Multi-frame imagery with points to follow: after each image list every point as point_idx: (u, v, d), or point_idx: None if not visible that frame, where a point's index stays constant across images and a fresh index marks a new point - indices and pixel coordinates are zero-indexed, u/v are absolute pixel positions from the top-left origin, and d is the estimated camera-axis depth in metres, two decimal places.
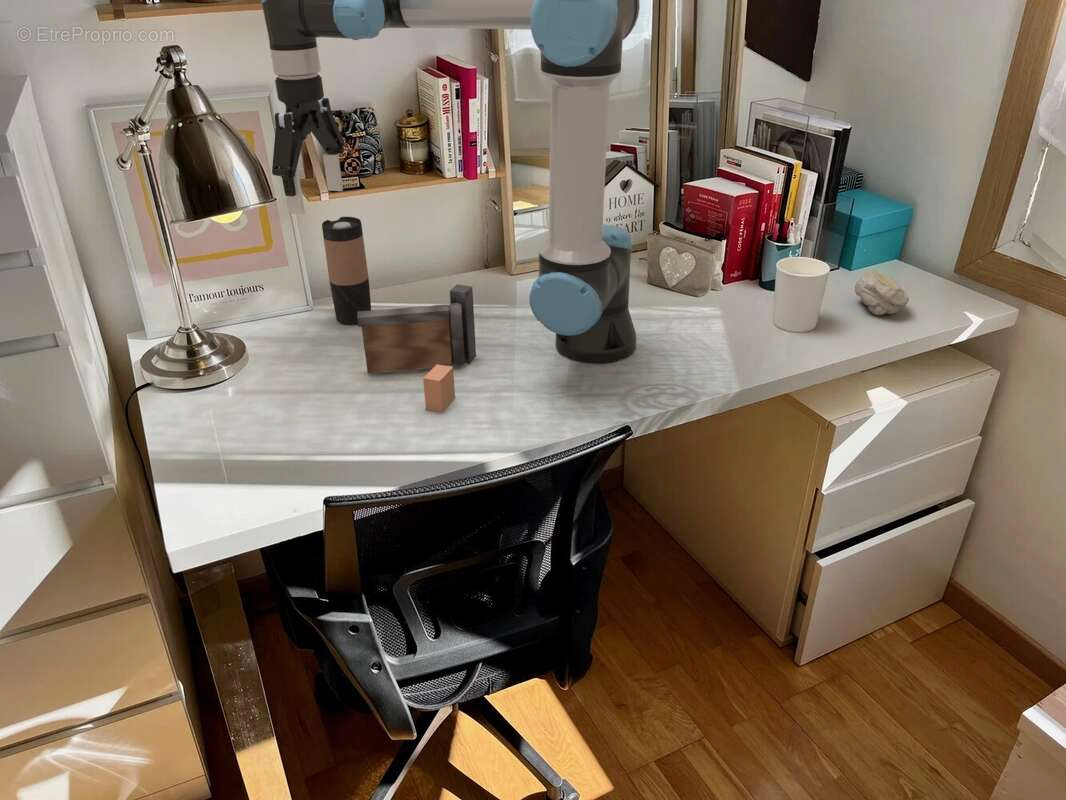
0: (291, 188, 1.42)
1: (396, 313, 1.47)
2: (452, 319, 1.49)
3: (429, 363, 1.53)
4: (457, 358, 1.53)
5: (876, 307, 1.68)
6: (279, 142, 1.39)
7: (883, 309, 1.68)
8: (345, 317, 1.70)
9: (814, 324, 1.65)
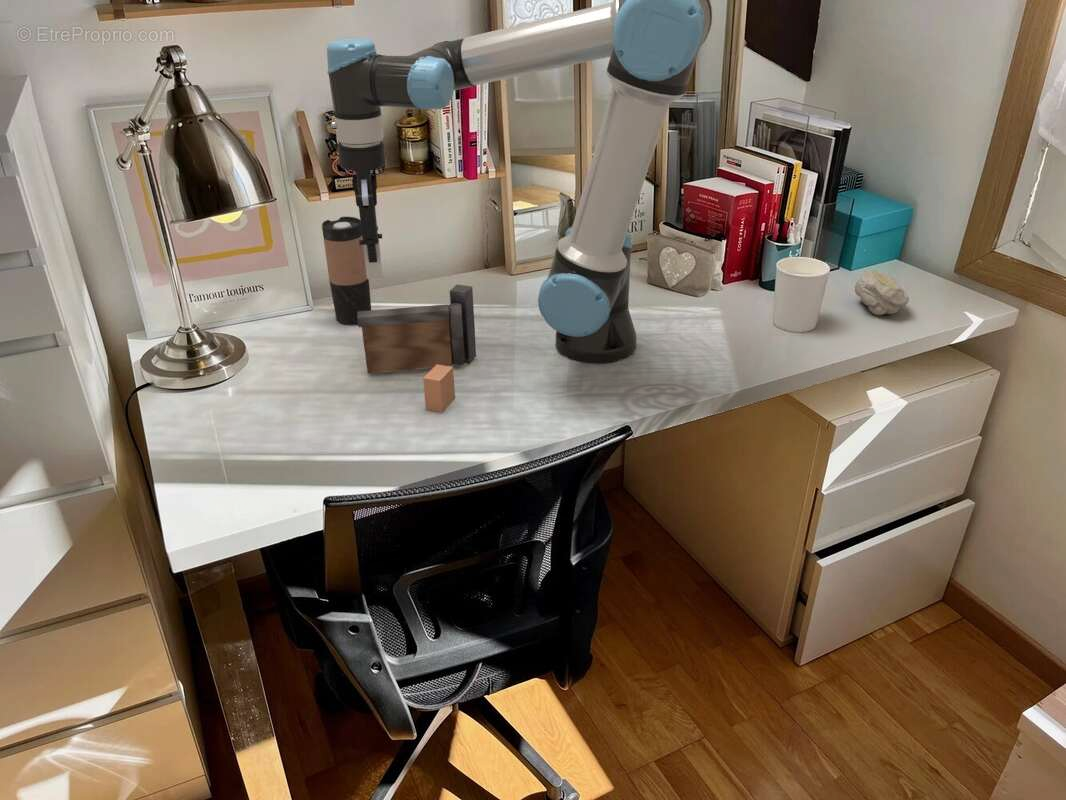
0: (376, 254, 1.48)
1: (396, 313, 1.47)
2: (452, 319, 1.49)
3: (429, 363, 1.53)
4: (457, 358, 1.53)
5: (876, 307, 1.68)
6: (366, 219, 1.41)
7: (883, 309, 1.68)
8: (345, 317, 1.70)
9: (814, 324, 1.65)
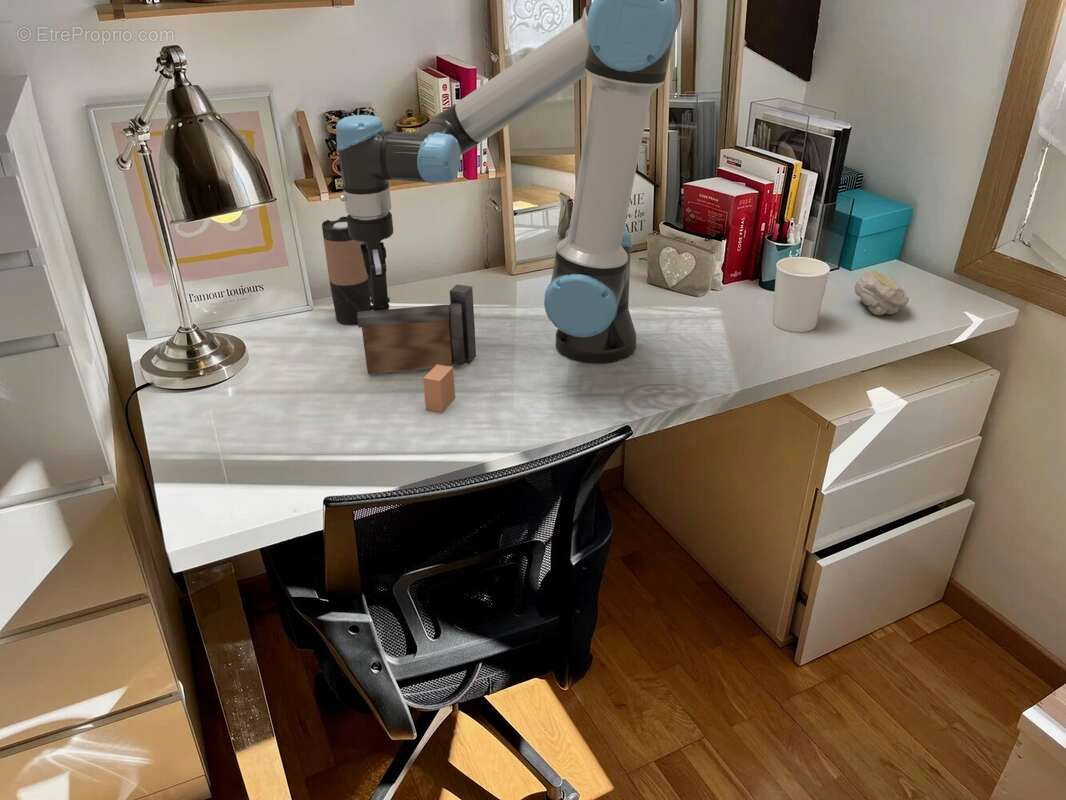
0: None
1: (396, 313, 1.47)
2: (452, 319, 1.49)
3: (429, 363, 1.53)
4: (457, 358, 1.53)
5: (876, 307, 1.68)
6: (378, 287, 1.45)
7: (883, 309, 1.68)
8: (345, 317, 1.70)
9: (814, 324, 1.65)
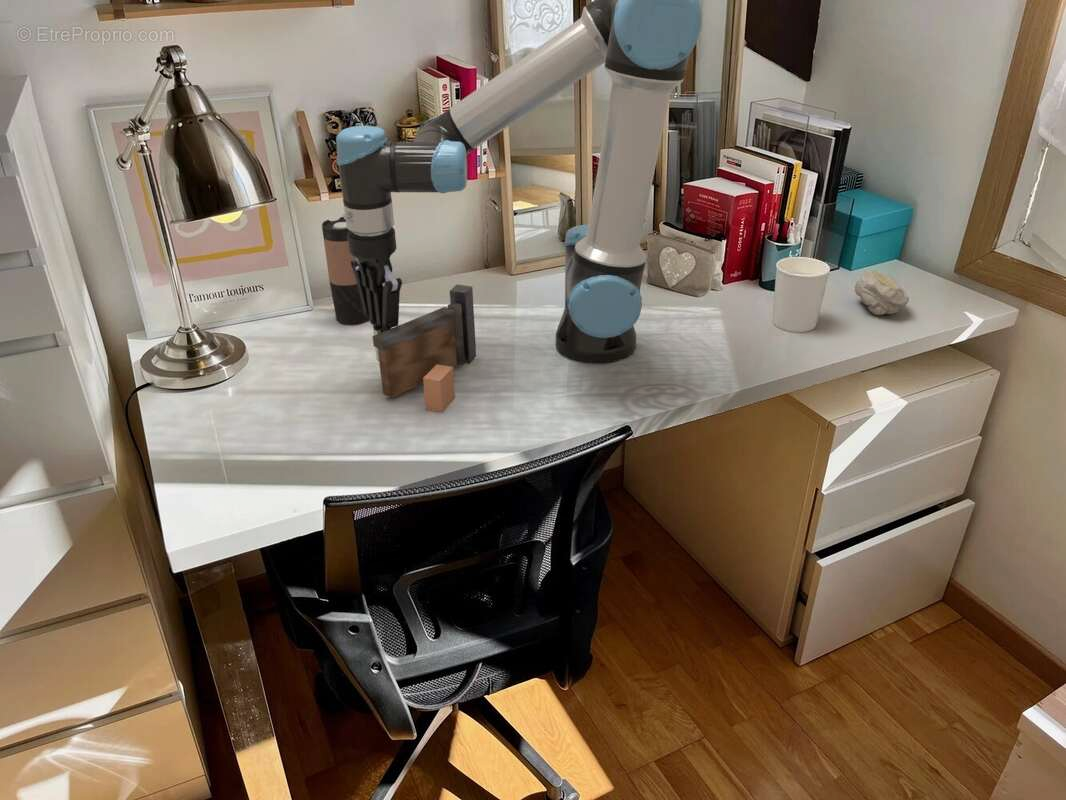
0: None
1: (412, 326, 1.42)
2: (457, 319, 1.49)
3: None
4: (461, 357, 1.53)
5: (876, 307, 1.68)
6: (391, 304, 1.39)
7: (883, 309, 1.68)
8: (345, 317, 1.70)
9: (814, 324, 1.65)
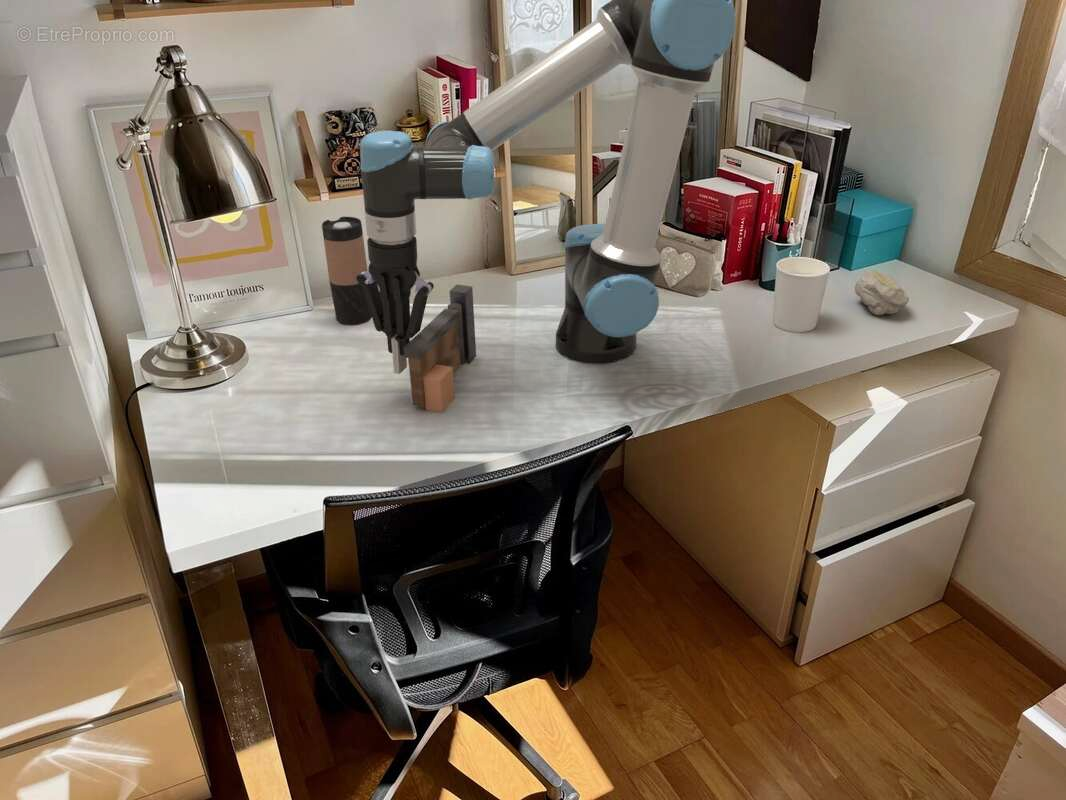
0: None
1: (433, 331, 1.41)
2: (459, 318, 1.49)
3: None
4: (463, 356, 1.53)
5: (876, 307, 1.68)
6: (421, 310, 1.36)
7: (883, 309, 1.68)
8: (345, 317, 1.70)
9: (814, 324, 1.65)
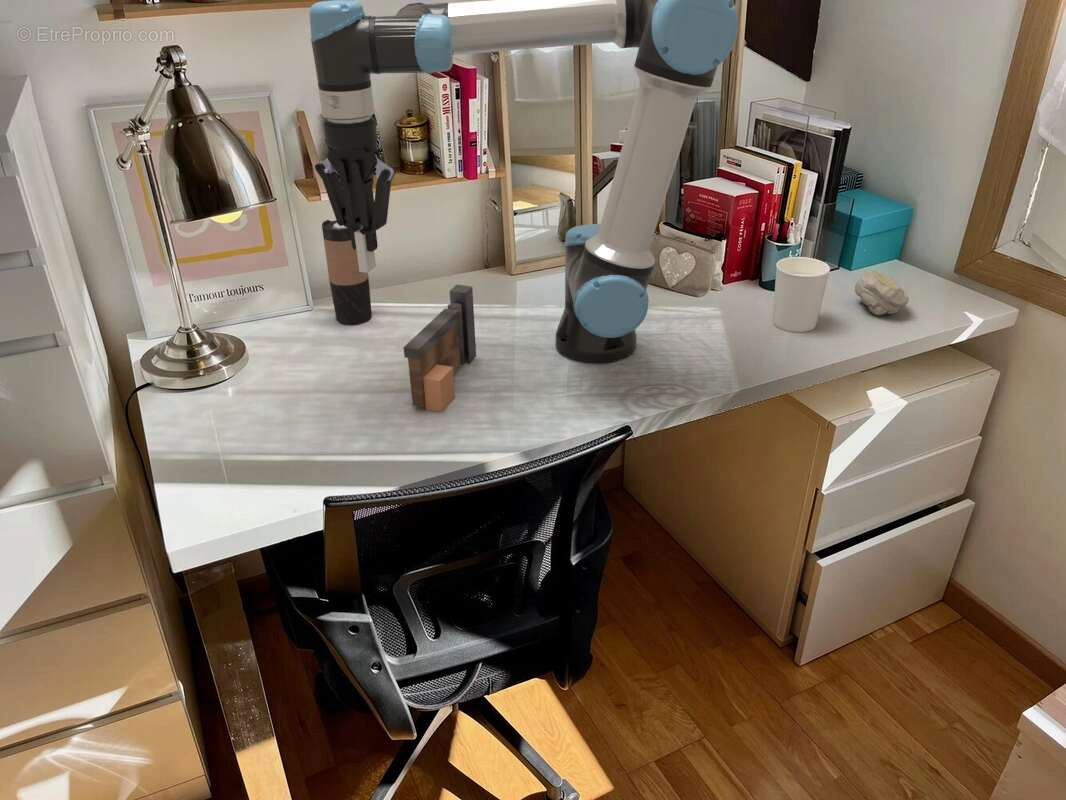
0: (376, 240, 1.34)
1: (433, 331, 1.41)
2: (459, 318, 1.49)
3: None
4: (463, 356, 1.53)
5: (876, 307, 1.68)
6: (384, 197, 1.29)
7: (883, 309, 1.68)
8: (345, 317, 1.70)
9: (814, 324, 1.65)
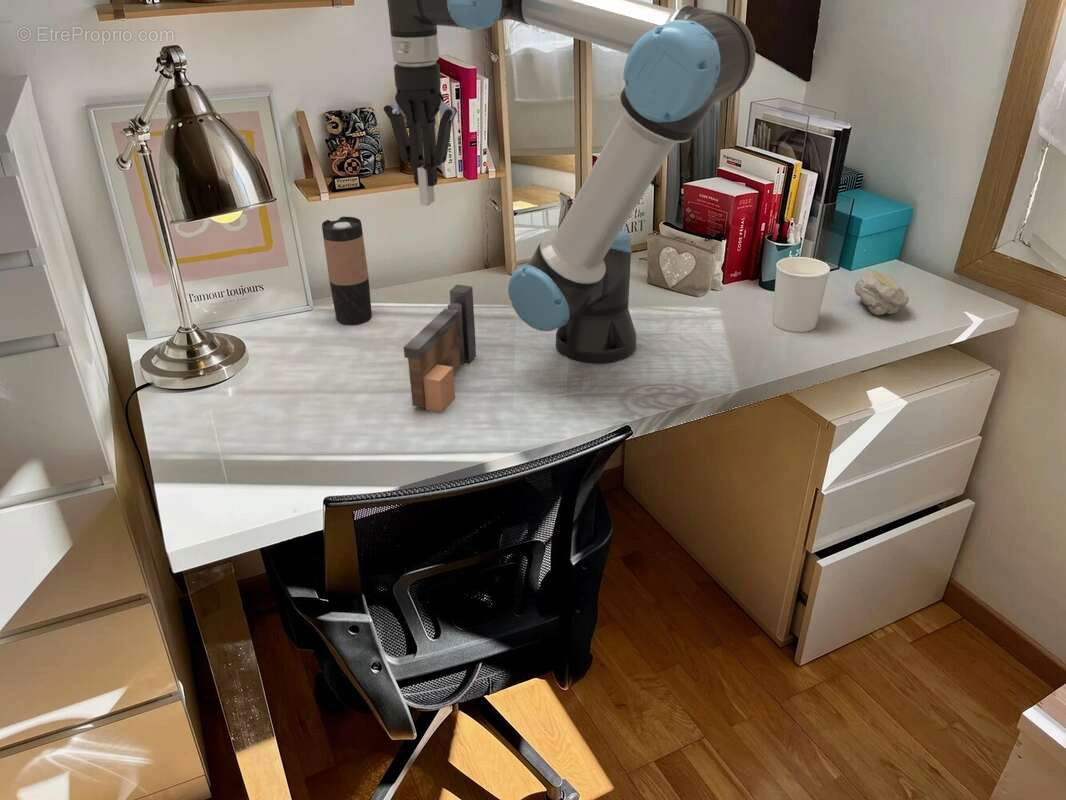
0: None
1: (433, 331, 1.41)
2: (459, 318, 1.49)
3: None
4: (463, 356, 1.53)
5: (876, 307, 1.68)
6: (446, 136, 1.45)
7: (883, 309, 1.68)
8: (345, 317, 1.70)
9: (814, 324, 1.65)
